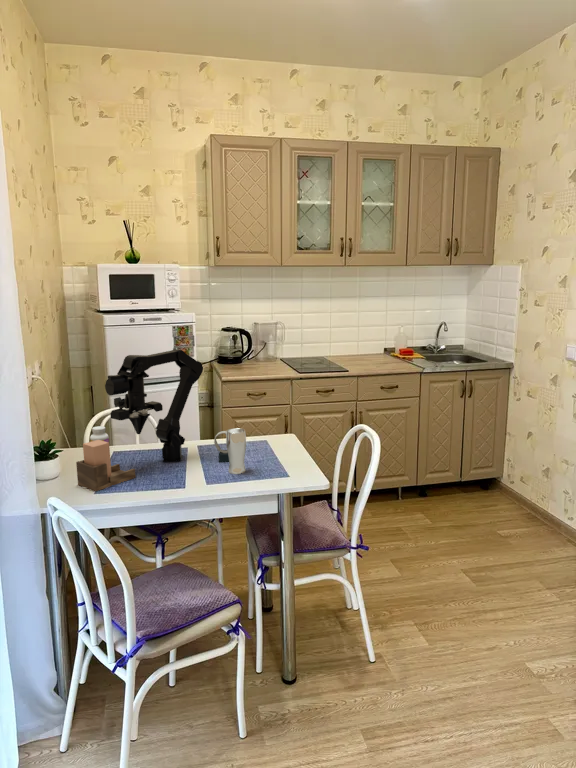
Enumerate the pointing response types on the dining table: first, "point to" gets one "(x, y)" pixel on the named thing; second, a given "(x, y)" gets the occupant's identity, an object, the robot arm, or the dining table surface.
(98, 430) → the supplement bottle
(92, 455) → the terracotta block
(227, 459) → the watch
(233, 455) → the beer glass
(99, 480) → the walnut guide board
